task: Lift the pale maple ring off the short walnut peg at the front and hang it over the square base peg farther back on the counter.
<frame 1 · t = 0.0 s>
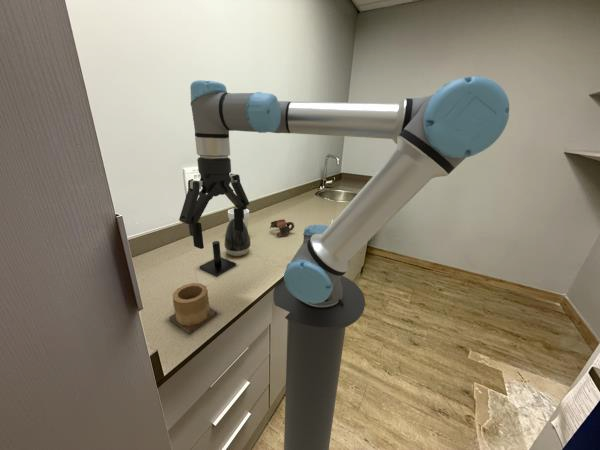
hand: (220, 238, 65), 20 cm above the worktop, tool pointing down, fingers open, 13 cm apart
square base peg: (218, 267, 88), on the worktop
maple ring: (193, 314, 64), point 1 cm above the worktop, touching low peg stand
low peg stand: (193, 317, 64), on the worktop
foam cup: (239, 237, 114), on the worktop
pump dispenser: (238, 253, 99), on the worktop
pottery mug: (282, 233, 121), on the worktop
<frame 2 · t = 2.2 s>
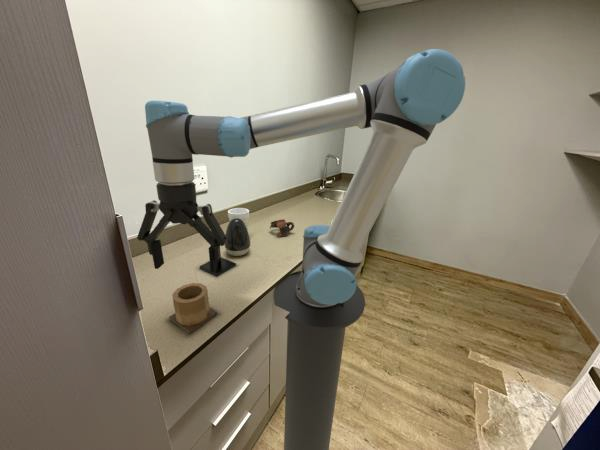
hand: (186, 268, 59), 15 cm above the worktop, tool pointing down, fingers open, 13 cm apart
nothing on the worktop moved.
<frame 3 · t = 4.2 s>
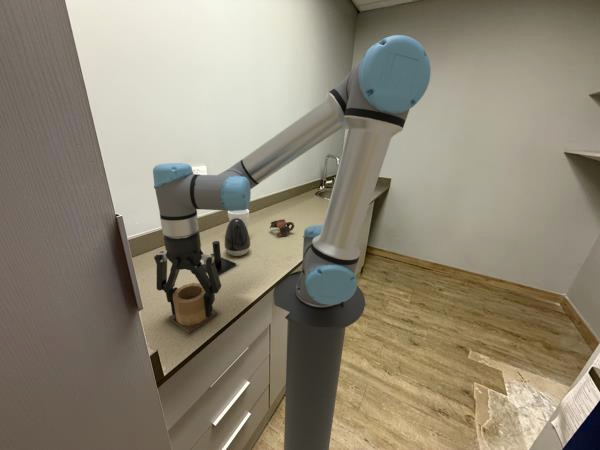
hand: (193, 312, 64), 2 cm above the worktop, tool pointing down, fingers closed on maple ring, 8 cm apart
maple ring: (193, 314, 64), point 1 cm above the worktop, touching gripper, low peg stand
everything else where it was.
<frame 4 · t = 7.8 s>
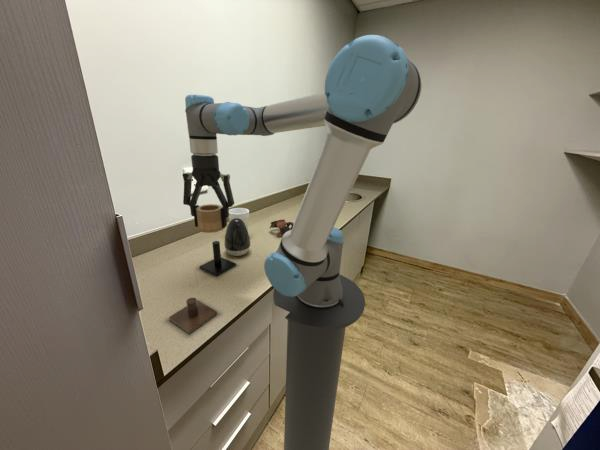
hand: (211, 225, 80), 17 cm above the worktop, tool pointing down, fingers closed on maple ring, 8 cm apart
maple ring: (211, 228, 80), point 17 cm above the worktop, touching gripper
everything else where it was.
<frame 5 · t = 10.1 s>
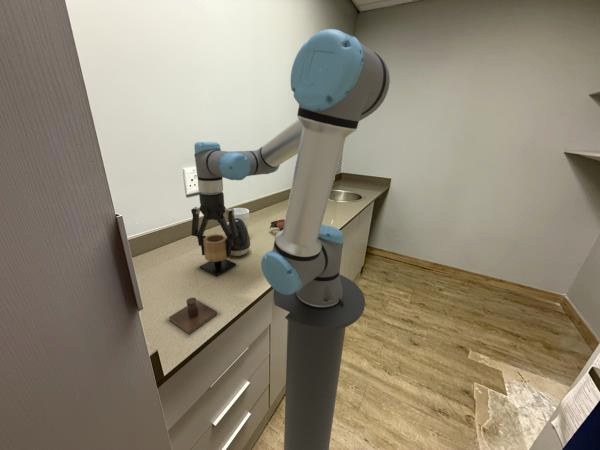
hand: (216, 254, 87), 5 cm above the worktop, tool pointing down, fingers closed on maple ring, 8 cm apart
maple ring: (216, 256, 87), point 4 cm above the worktop, touching gripper
everything else where it was.
when the fingers open (2 cm above the worktop, at t = 11.6 s): maple ring stays where it is, resting on square base peg.
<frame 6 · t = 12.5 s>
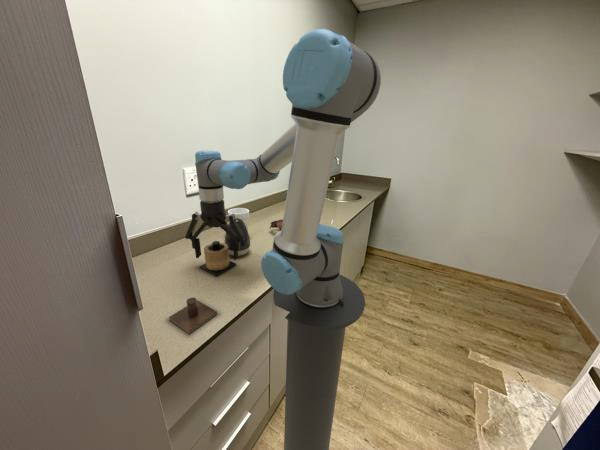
hand: (217, 257, 87), 4 cm above the worktop, tool pointing down, fingers open, 13 cm apart
maple ring: (217, 264, 88), point 1 cm above the worktop, touching square base peg
everything else where it was.
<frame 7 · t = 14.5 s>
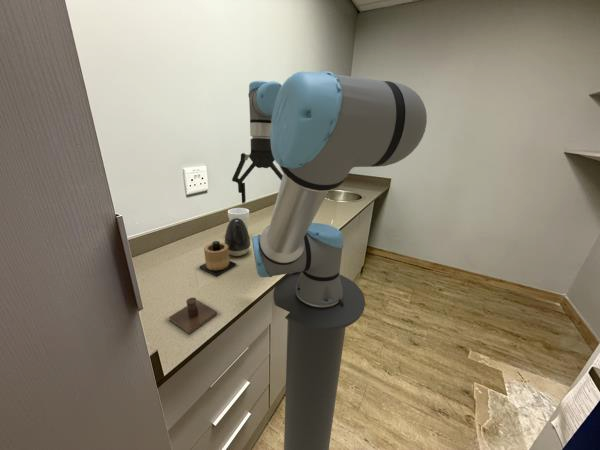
hand: (263, 202, 84), 24 cm above the worktop, tool pointing down, fingers open, 13 cm apart
nothing on the worktop moved.
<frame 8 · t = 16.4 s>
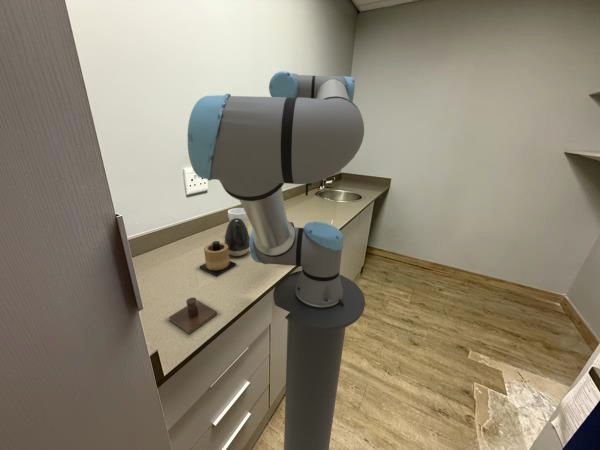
hand: (287, 193, 86), 27 cm above the worktop, tool pointing down, fingers open, 13 cm apart
nothing on the worktop moved.
at the end: maple ring 0.1 cm from the square base peg (horizontally); maple ring point 1.0 cm above the worktop; the gripper is holding nothing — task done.
